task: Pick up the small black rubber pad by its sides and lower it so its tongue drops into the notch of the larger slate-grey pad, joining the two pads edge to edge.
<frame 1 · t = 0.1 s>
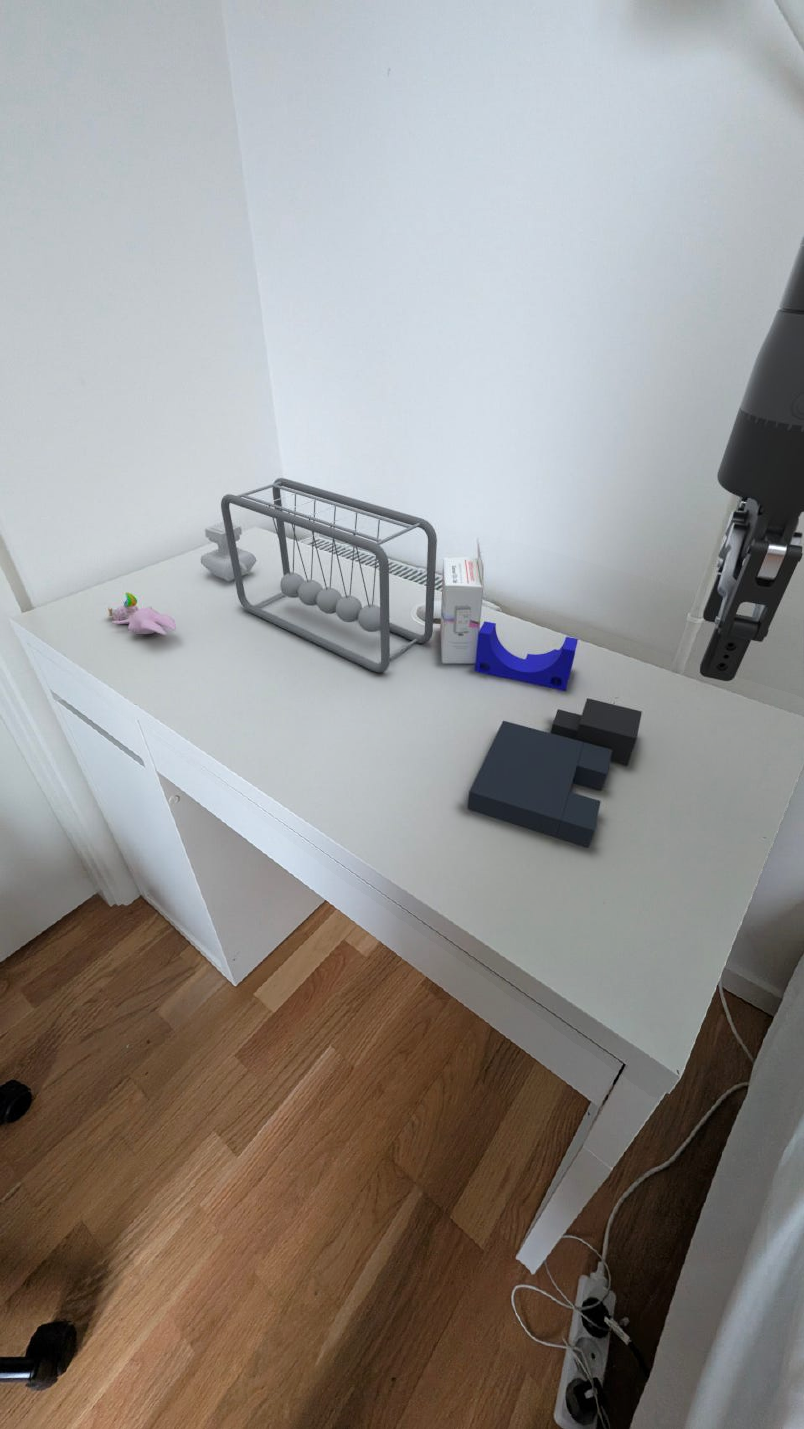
hand: (715, 646, 44), 21 cm above the table, tool pointing down, fingers open, 8 cm apart
grey pad: (540, 786, 60), on the table
newton's cradle: (331, 627, 86), on the table
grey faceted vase: (231, 576, 99), on the table
blue half-round bracket: (522, 673, 77), on the table
ink cartridge box: (456, 649, 82), on the table
black pad: (602, 744, 66), on the table
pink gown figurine: (146, 632, 85), on the table
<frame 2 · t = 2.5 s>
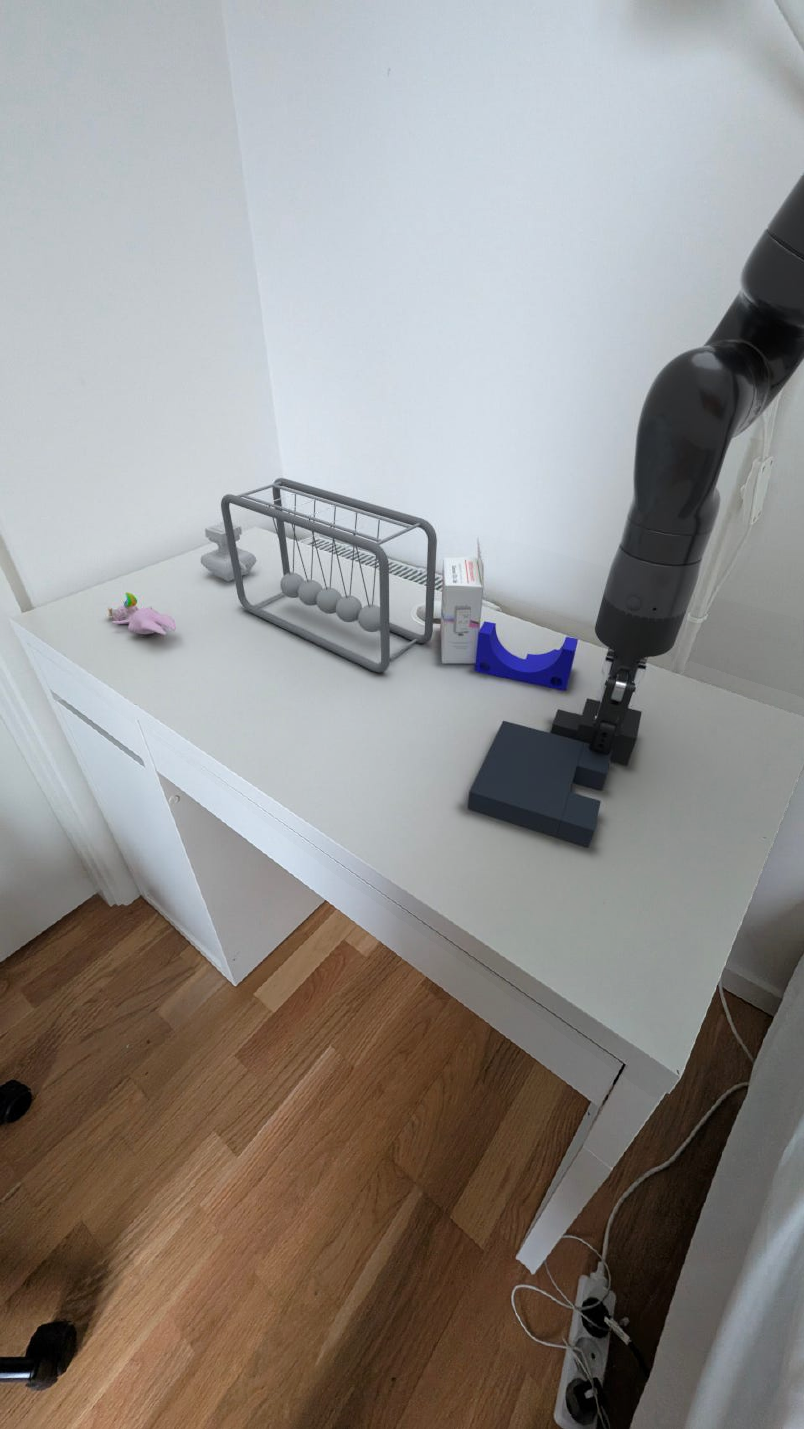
hand: (605, 727, 64), 2 cm above the table, tool pointing down, fingers open, 8 cm apart
nothing on the table moved.
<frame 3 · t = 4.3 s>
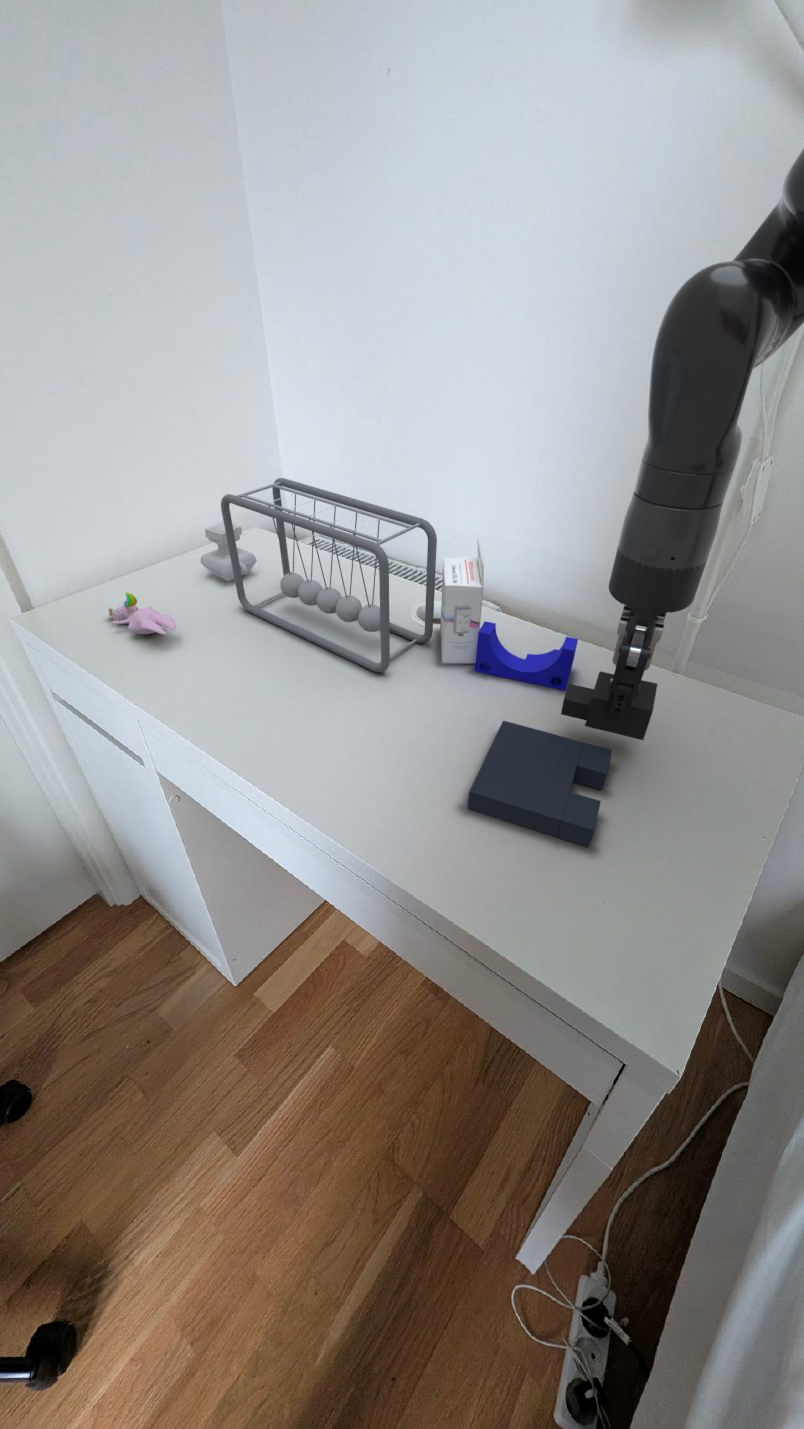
hand: (619, 700, 62), 6 cm above the table, tool pointing down, fingers closed on black pad, 5 cm apart
black pad: (616, 719, 63), point 4 cm above the table, touching gripper
everything else where it was.
when the fingers open (2 cm above the table, at t = 8.7 s): black pad stays where it is, on the table.
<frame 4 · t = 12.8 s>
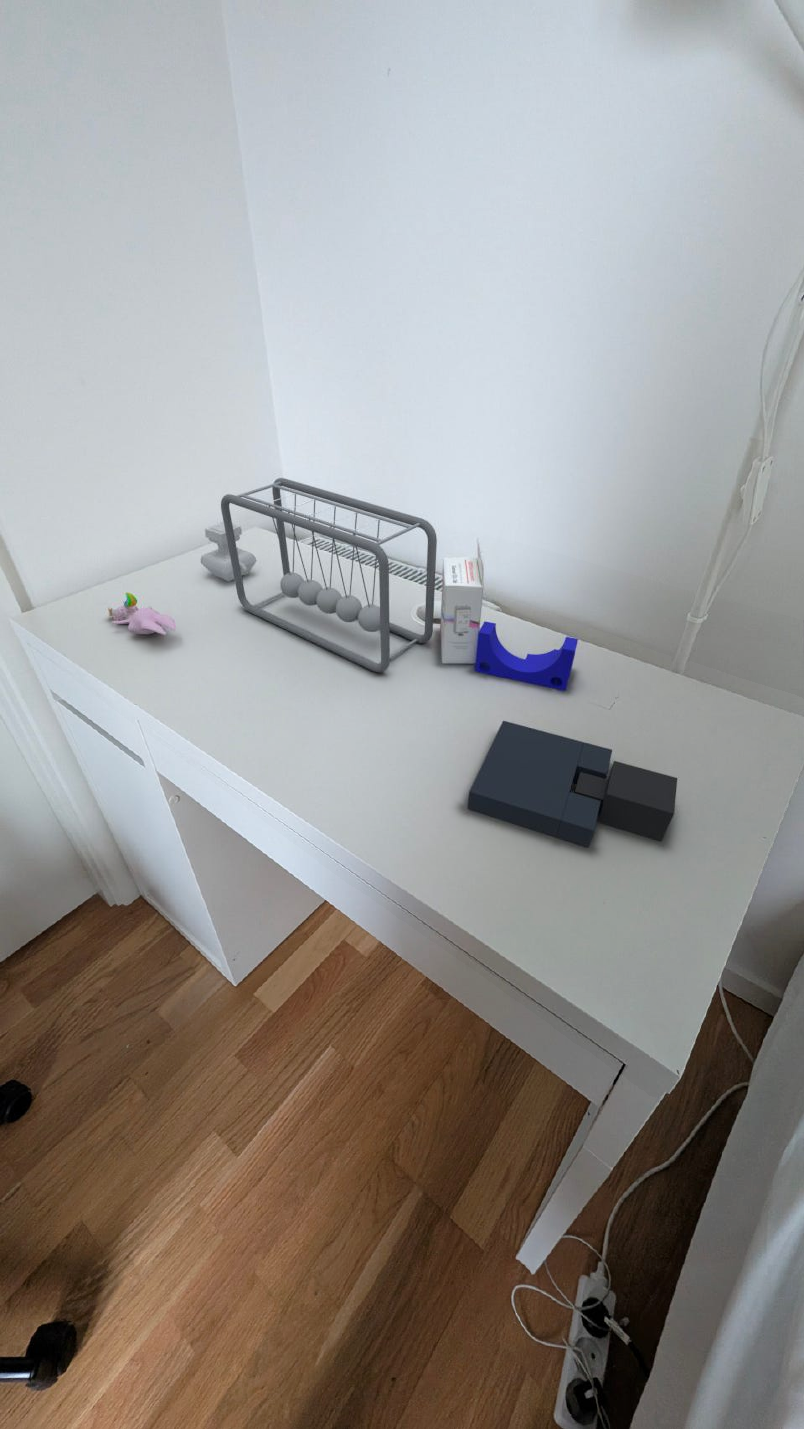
black pad: (631, 813, 58), on the table
everything else where it was.
at the end: black pad 0.2 cm from the target spot, on the table; black pad tilted 0°; the gripper is holding nothing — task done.
